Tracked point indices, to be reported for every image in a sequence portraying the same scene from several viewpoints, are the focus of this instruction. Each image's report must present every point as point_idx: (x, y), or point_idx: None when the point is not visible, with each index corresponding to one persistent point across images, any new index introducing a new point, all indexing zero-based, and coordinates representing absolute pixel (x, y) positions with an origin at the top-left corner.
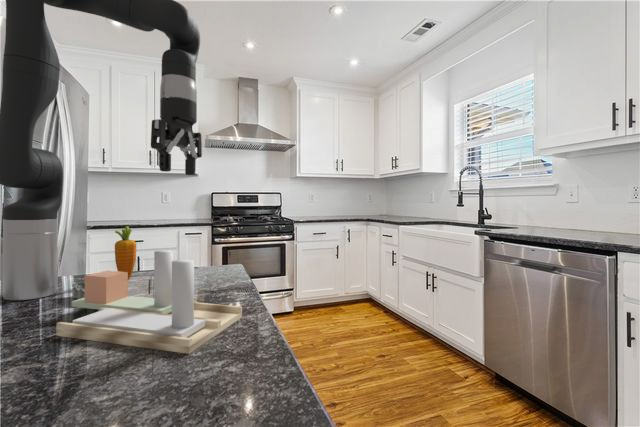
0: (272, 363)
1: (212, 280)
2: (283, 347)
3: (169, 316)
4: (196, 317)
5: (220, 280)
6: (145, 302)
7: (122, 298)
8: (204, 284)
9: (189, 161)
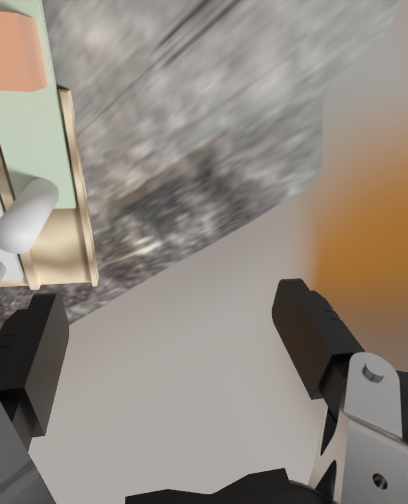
0: None
1: (295, 122)
2: None
3: None
4: (29, 261)
5: (296, 140)
6: (37, 153)
7: None
8: (257, 125)
9: (311, 363)
